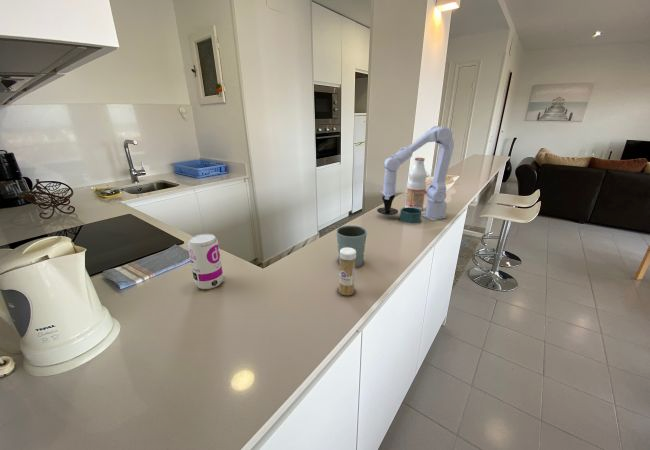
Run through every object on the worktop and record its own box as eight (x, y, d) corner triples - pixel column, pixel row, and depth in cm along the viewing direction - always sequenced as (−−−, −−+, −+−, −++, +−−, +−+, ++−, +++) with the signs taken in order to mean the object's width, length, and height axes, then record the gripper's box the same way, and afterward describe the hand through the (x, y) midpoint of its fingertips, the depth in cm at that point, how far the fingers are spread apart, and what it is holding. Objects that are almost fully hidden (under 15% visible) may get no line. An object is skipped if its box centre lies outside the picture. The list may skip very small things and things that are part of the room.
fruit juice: (401, 208, 155) (407, 158, 145) (410, 205, 161) (416, 156, 151) (417, 212, 149) (423, 159, 139) (425, 209, 155) (432, 158, 145)
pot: (410, 216, 143) (411, 206, 141) (424, 222, 135) (426, 212, 133) (395, 219, 139) (396, 208, 137) (408, 225, 131) (410, 214, 129)
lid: (389, 208, 146) (390, 198, 144) (402, 214, 137) (403, 204, 135) (372, 210, 142) (373, 201, 140) (385, 217, 133) (386, 206, 131)
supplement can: (229, 278, 88) (223, 234, 82) (211, 292, 80) (203, 246, 75) (208, 273, 90) (201, 231, 85) (189, 287, 83) (179, 242, 78)
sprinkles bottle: (336, 294, 80) (337, 252, 75) (341, 285, 84) (342, 245, 79) (351, 297, 78) (353, 255, 74) (356, 289, 82) (358, 248, 77)
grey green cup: (370, 261, 98) (372, 230, 94) (353, 272, 91) (354, 239, 87) (348, 252, 104) (349, 223, 100) (330, 262, 98) (330, 230, 93)
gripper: (383, 179, 142) (381, 205, 147) (379, 185, 129) (377, 213, 134) (397, 180, 140) (395, 206, 144) (394, 186, 127) (392, 214, 132)
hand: (387, 209), depth 139 cm, fingers closed on lid, 2 cm apart
